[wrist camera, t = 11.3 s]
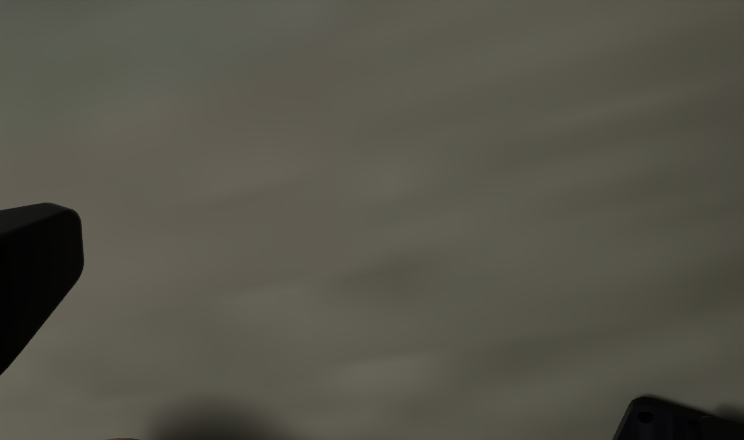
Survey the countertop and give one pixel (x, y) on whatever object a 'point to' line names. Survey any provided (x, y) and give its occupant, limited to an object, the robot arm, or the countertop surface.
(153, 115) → the countertop surface
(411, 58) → the countertop surface
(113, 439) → the natural sponge
